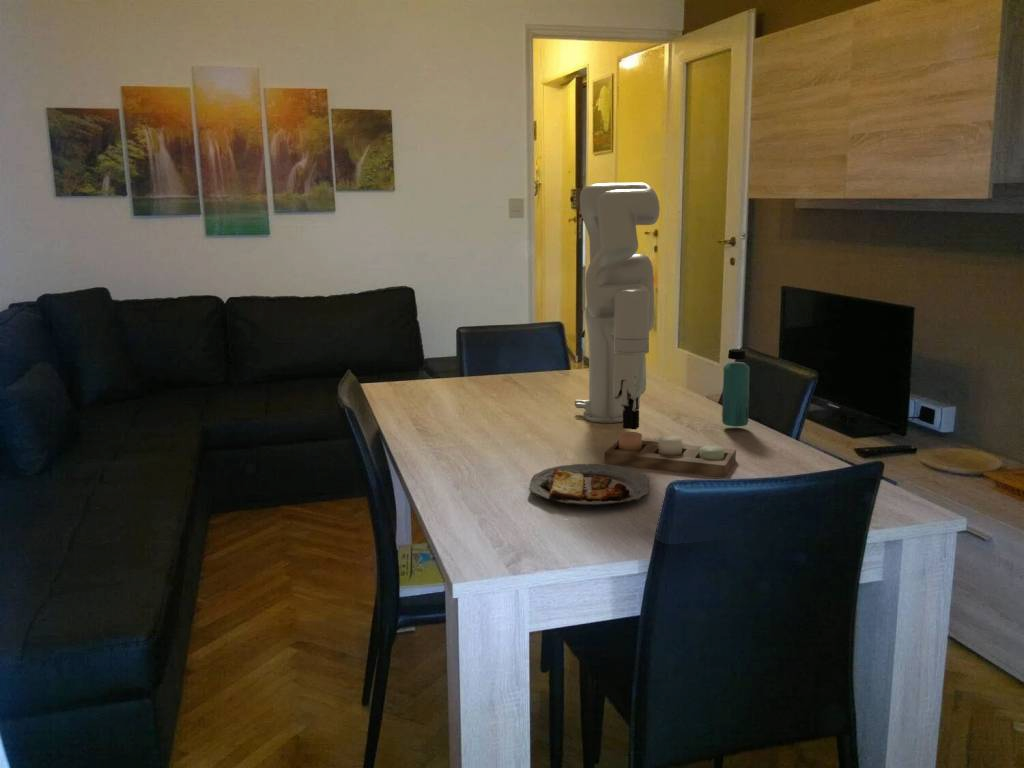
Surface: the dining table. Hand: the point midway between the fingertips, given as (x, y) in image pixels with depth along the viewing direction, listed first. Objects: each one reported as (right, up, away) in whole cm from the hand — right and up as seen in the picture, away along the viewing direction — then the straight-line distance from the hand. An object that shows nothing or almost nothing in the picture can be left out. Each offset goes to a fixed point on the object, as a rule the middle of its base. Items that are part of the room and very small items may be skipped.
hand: (630, 428), depth 189 cm
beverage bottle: (+29, -2, +24) cm, 37 cm away
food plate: (-11, -12, -19) cm, 25 cm away
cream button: (+8, -6, -2) cm, 10 cm away
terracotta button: (0, -5, +2) cm, 5 cm away
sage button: (+17, -8, -5) cm, 19 cm away
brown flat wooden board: (+8, -7, -2) cm, 11 cm away
